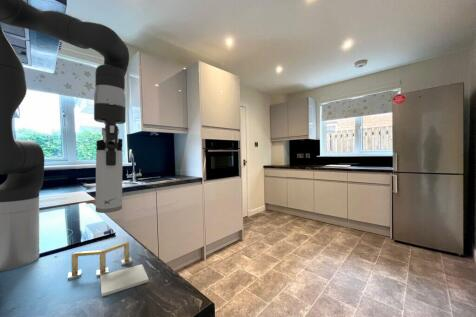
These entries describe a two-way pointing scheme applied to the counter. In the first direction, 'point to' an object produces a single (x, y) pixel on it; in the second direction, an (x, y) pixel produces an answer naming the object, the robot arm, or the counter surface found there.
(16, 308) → the counter surface
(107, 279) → the coaster
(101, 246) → the counter surface
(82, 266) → the counter surface
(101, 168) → the travel mug
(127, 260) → the gold barrier railing
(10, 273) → the counter surface
